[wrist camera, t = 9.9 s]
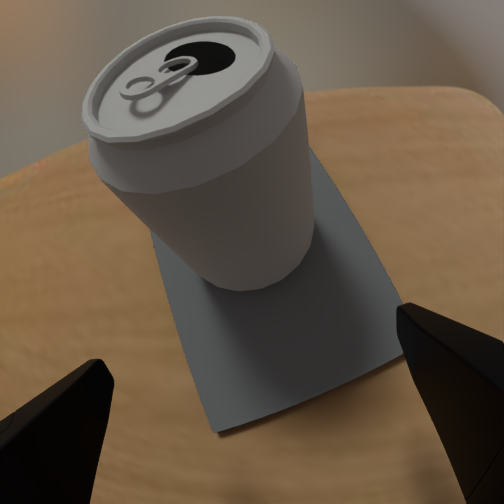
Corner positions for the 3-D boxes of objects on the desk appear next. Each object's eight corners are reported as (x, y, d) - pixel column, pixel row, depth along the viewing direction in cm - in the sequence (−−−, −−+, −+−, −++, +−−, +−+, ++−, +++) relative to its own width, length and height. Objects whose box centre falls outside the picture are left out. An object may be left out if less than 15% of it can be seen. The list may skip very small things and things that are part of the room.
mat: (418, 343, 15) (421, 342, 15) (216, 431, 16) (213, 433, 15) (299, 136, 22) (298, 131, 22) (146, 203, 22) (143, 199, 22)
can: (340, 220, 18) (348, 27, 7) (254, 323, 17) (136, 212, 6) (245, 161, 21) (184, -2, 10) (165, 244, 20) (36, 113, 9)
